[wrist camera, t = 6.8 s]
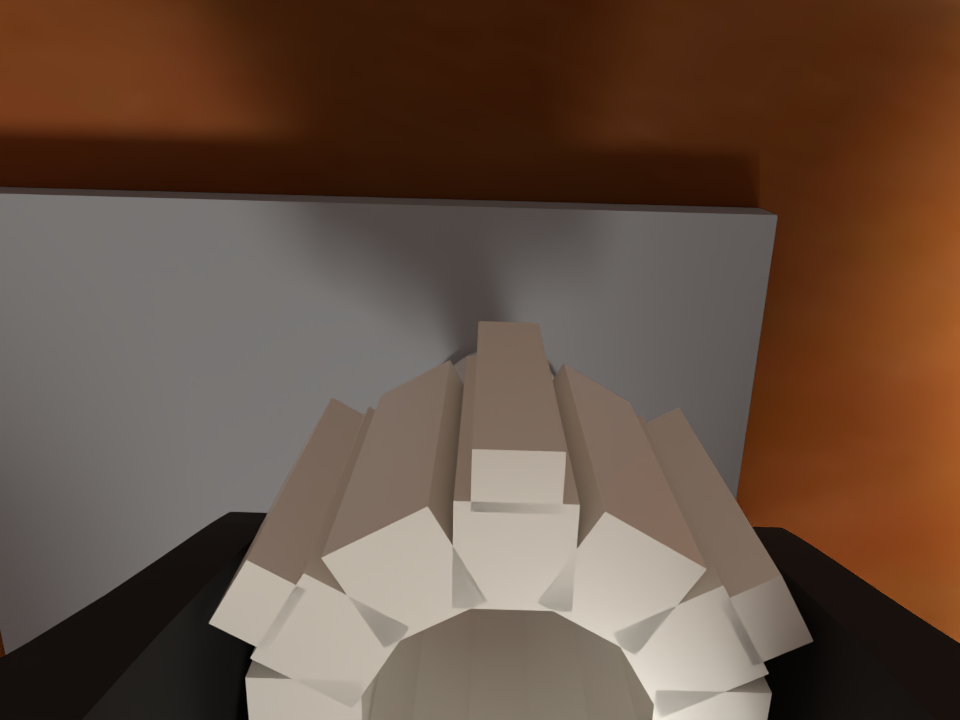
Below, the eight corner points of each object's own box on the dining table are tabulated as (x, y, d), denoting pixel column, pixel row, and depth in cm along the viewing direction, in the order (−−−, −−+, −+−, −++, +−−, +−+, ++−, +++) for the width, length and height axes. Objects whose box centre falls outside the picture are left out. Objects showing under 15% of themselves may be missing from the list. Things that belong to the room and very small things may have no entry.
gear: (671, 692, 12) (751, 958, 9) (317, 681, 12) (240, 941, 9) (718, 327, 10) (849, 460, 7) (299, 316, 10) (190, 441, 7)
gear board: (678, 796, 20) (715, 934, 17) (58, 777, 20) (-27, 911, 17) (759, 208, 15) (834, 238, 12) (-53, 185, 15) (-204, 209, 12)
